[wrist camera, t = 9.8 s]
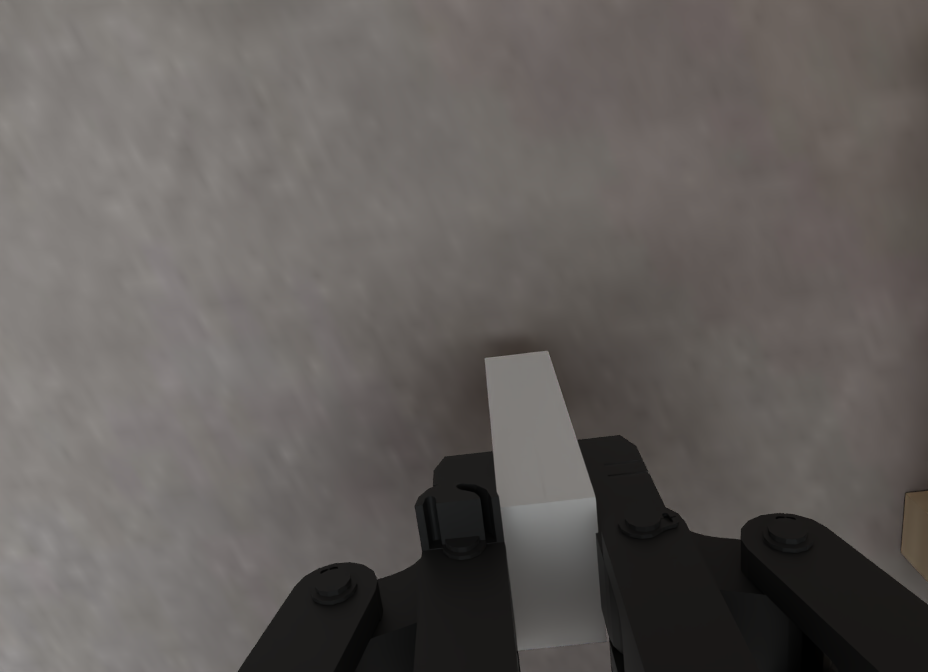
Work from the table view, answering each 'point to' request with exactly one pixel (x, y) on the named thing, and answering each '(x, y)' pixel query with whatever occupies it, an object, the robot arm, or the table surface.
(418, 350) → the table surface
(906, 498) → the bridge
